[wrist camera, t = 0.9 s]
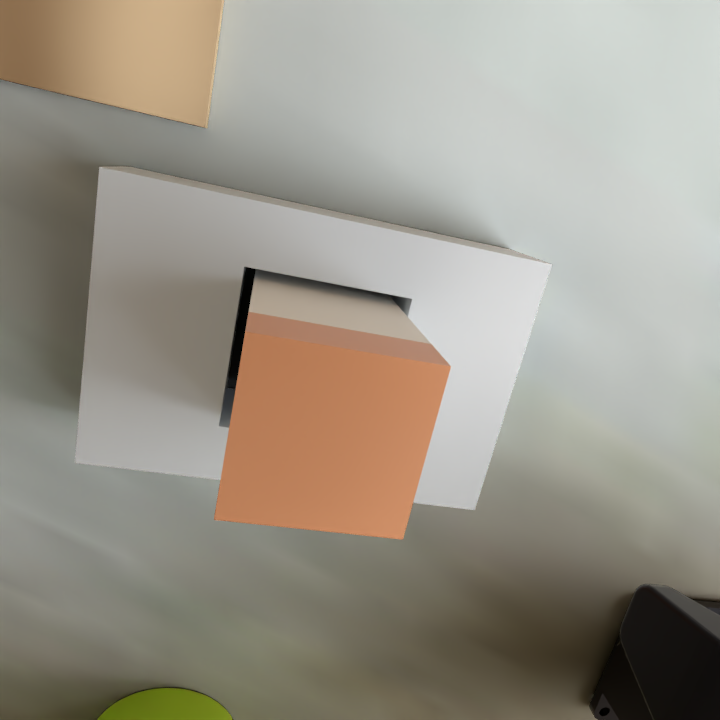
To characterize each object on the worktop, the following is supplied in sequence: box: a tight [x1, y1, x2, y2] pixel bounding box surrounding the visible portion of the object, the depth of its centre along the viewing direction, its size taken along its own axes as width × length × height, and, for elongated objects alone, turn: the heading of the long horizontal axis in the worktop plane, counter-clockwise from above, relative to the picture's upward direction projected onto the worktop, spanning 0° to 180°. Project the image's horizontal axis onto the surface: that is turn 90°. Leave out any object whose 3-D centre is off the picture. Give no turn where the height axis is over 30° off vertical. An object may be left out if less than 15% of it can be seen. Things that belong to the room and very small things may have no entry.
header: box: [75, 166, 552, 510], centre depth 17 cm, size 12×8×3 cm, turn 78°
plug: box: [214, 269, 451, 539], centre depth 15 cm, size 4×4×8 cm
